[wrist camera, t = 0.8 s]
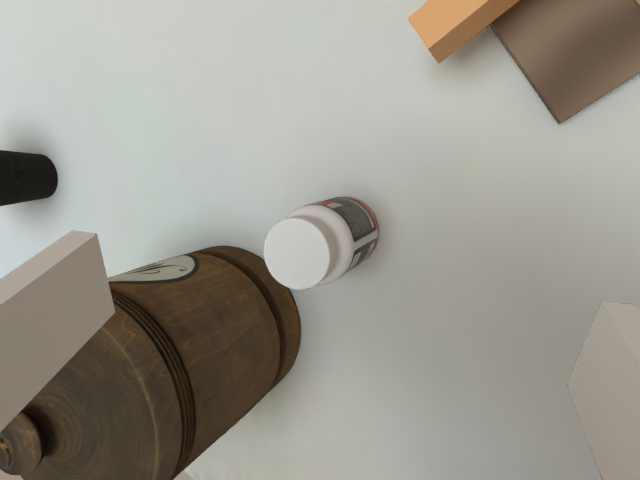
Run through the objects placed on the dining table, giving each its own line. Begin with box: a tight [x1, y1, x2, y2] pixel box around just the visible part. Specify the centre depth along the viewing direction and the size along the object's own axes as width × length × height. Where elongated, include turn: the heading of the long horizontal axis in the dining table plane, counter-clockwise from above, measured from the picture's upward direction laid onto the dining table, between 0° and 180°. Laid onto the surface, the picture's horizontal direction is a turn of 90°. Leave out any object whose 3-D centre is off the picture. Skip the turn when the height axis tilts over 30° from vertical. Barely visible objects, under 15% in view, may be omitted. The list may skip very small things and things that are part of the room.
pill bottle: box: [264, 197, 378, 290], centre depth 33 cm, size 6×6×10 cm
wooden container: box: [0, 246, 300, 480], centre depth 33 cm, size 15×15×22 cm
